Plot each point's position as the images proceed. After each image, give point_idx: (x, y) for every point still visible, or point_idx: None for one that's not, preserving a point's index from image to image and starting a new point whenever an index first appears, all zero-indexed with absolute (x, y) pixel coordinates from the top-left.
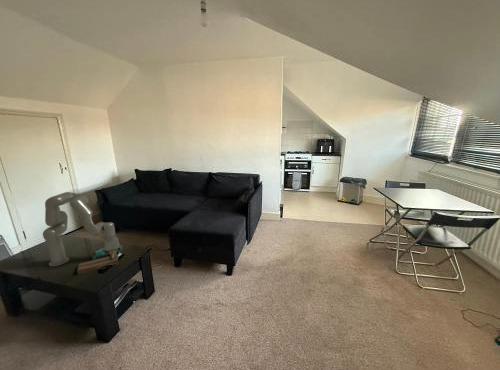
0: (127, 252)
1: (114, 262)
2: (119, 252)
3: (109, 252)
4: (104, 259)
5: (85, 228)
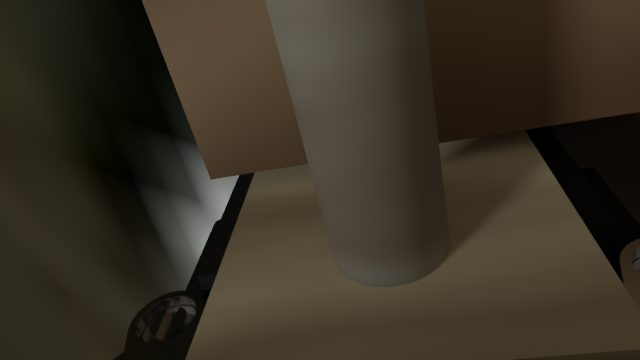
0: (59, 284)
1: None
2: None
3: (606, 271)
4: None
5: None
